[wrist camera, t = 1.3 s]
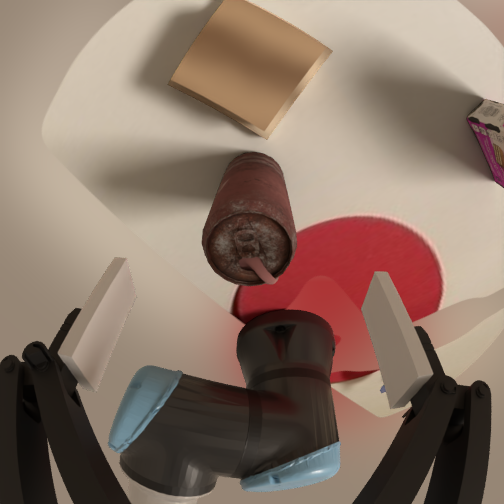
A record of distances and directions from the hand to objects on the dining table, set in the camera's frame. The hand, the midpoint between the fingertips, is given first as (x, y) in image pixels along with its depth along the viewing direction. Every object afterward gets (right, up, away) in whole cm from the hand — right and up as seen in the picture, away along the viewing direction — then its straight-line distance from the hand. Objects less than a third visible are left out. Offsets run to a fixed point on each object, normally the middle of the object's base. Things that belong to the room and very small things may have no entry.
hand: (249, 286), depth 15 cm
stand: (0, +19, +8) cm, 21 cm away
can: (0, +9, +15) cm, 18 cm away
